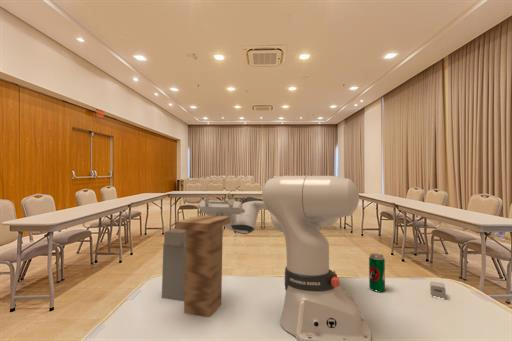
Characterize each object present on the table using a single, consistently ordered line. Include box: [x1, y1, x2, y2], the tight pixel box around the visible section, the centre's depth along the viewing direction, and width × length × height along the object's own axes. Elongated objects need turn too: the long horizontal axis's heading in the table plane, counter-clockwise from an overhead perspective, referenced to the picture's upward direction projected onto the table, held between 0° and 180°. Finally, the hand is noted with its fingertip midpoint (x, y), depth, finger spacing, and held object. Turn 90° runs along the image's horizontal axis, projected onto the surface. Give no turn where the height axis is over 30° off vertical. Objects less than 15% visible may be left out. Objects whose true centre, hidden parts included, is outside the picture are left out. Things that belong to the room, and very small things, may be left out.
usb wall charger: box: [429, 280, 447, 300], centre depth 89 cm, size 4×7×4 cm, turn 149°
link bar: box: [163, 228, 186, 246], centre depth 96 cm, size 6×26×4 cm, turn 165°
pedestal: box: [161, 243, 186, 302], centre depth 91 cm, size 8×16×17 cm, turn 165°
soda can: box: [368, 253, 386, 292], centre depth 93 cm, size 5×5×12 cm
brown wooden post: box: [174, 214, 230, 318], centre depth 78 cm, size 10×16×26 cm, turn 165°
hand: (215, 199), depth 117 cm, fingers open, 8 cm apart
